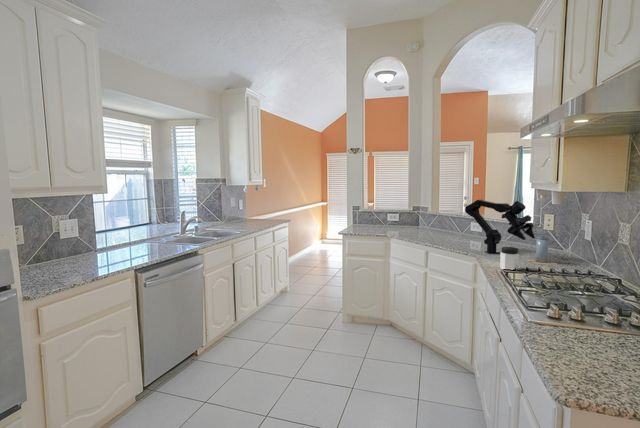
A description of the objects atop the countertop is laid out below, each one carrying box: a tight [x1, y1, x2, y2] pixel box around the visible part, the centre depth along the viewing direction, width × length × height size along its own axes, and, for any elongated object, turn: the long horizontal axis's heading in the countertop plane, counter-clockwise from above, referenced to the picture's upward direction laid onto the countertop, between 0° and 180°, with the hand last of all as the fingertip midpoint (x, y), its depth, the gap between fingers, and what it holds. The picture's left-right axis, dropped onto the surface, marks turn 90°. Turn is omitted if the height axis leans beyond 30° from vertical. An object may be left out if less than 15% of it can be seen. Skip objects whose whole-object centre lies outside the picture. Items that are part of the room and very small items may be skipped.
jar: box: [499, 246, 520, 270], centre depth 194 cm, size 9×8×12 cm
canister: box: [535, 234, 550, 263], centre depth 207 cm, size 6×6×16 cm
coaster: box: [526, 259, 558, 266], centre depth 207 cm, size 12×12×1 cm
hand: (529, 238), depth 213 cm, fingers open, 9 cm apart
